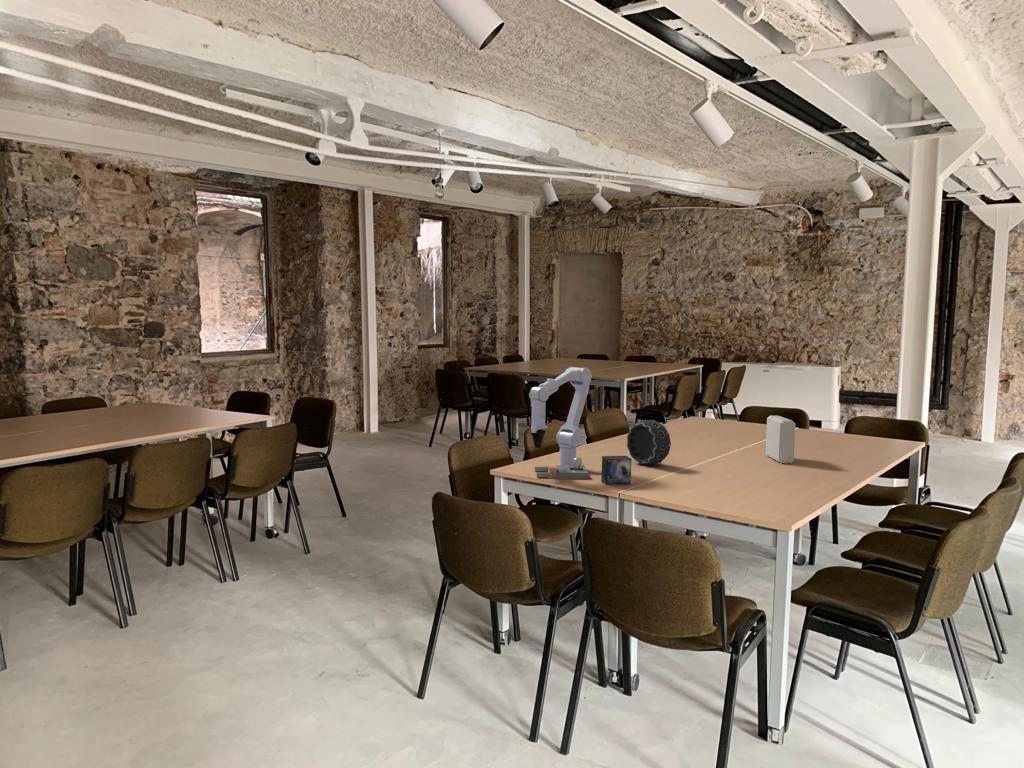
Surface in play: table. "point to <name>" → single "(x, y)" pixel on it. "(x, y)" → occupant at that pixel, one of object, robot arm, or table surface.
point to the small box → (616, 470)
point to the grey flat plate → (564, 472)
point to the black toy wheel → (648, 442)
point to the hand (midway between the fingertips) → (537, 447)
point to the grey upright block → (780, 439)
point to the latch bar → (552, 468)
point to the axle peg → (577, 463)
